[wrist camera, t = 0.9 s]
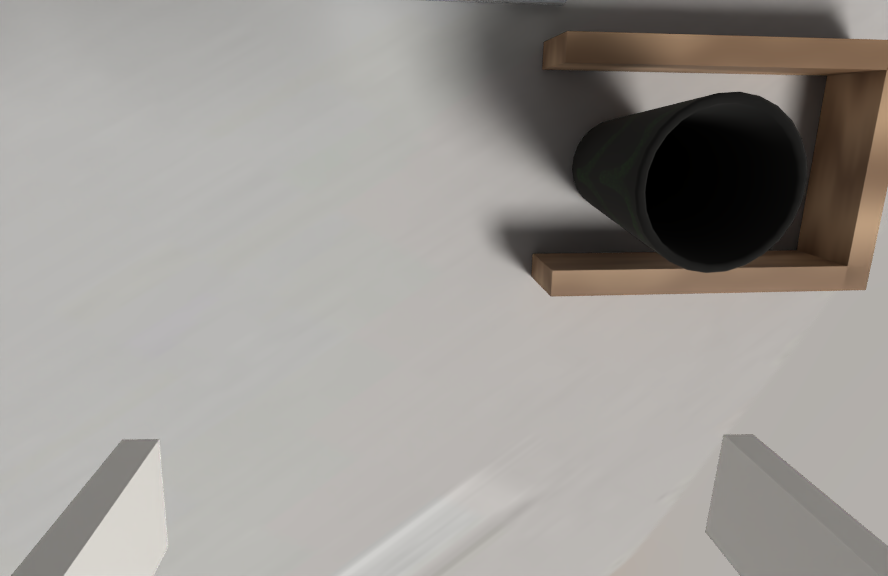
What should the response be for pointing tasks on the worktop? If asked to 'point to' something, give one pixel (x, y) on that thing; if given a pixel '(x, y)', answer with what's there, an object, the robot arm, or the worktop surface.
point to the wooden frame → (831, 177)
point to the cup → (698, 178)
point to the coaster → (514, 1)
